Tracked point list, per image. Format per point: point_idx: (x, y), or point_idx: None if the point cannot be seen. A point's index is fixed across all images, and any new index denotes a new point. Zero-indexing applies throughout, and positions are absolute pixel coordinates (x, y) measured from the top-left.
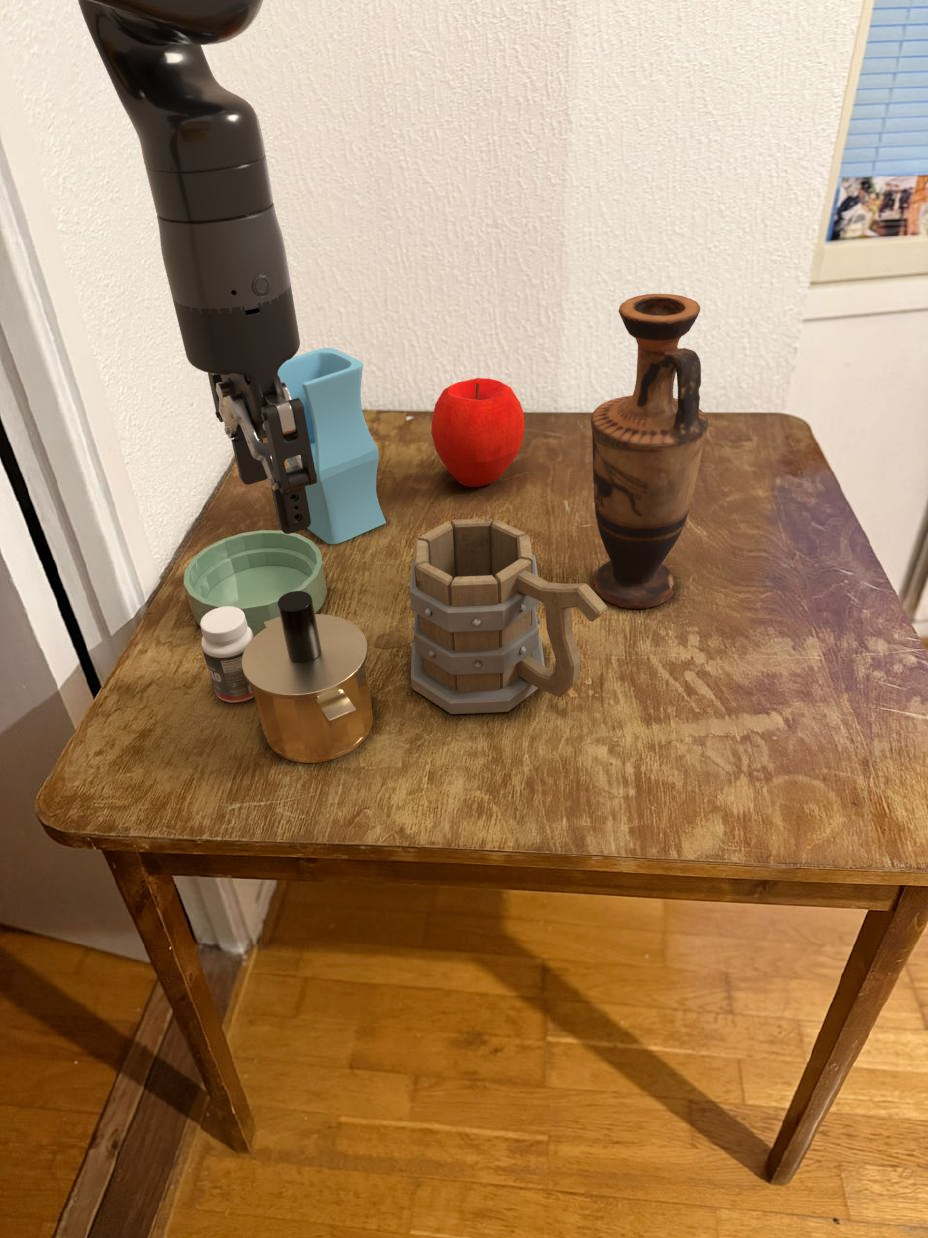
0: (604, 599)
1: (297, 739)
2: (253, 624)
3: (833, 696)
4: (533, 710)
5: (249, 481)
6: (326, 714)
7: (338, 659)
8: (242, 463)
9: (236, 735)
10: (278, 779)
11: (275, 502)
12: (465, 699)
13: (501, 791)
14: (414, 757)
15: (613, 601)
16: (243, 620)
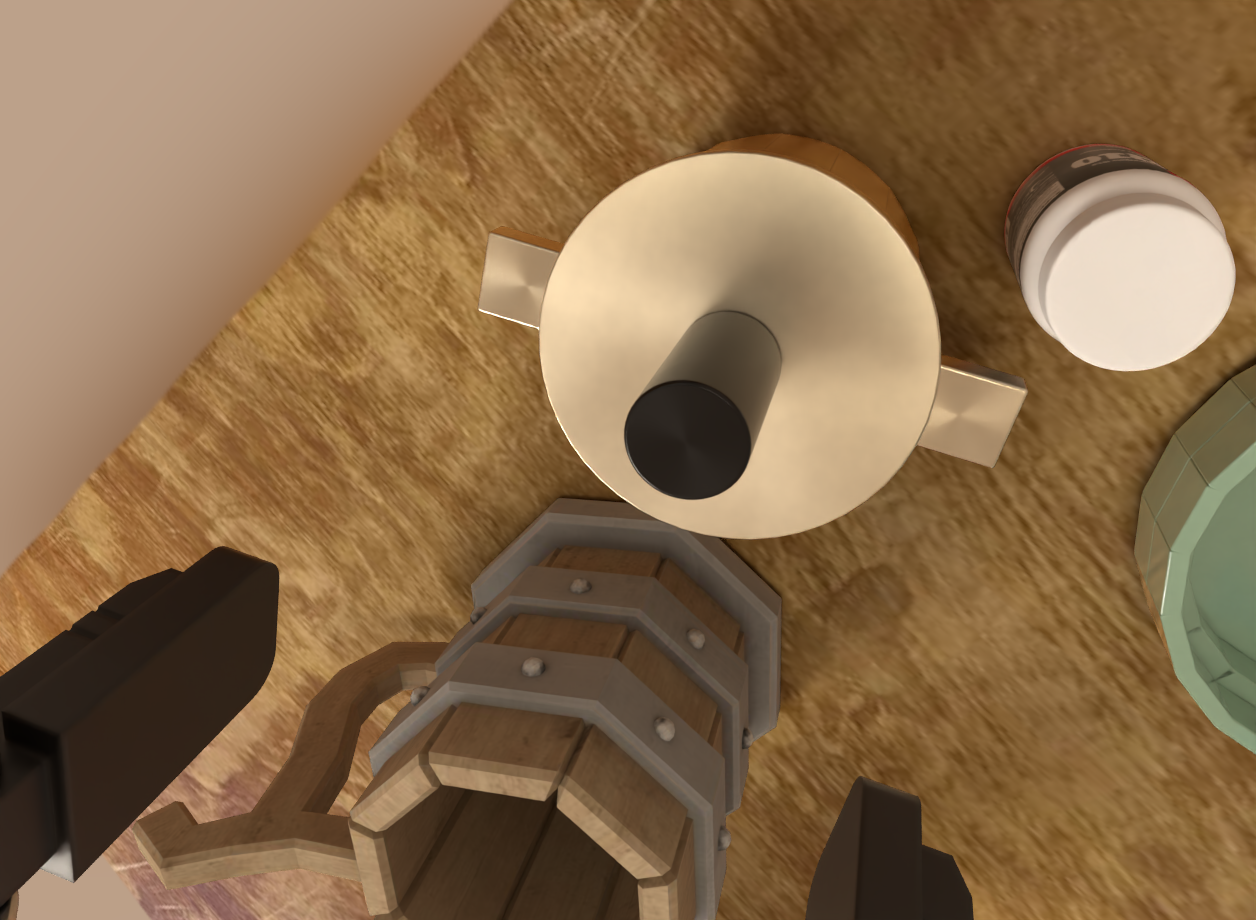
0: None
1: None
2: (1233, 413)
3: None
4: (461, 600)
5: (852, 804)
6: (511, 241)
7: (624, 403)
8: (850, 902)
9: (919, 92)
10: (688, 81)
11: (106, 653)
12: (527, 539)
13: (338, 402)
14: (519, 357)
15: None
16: (1059, 338)
